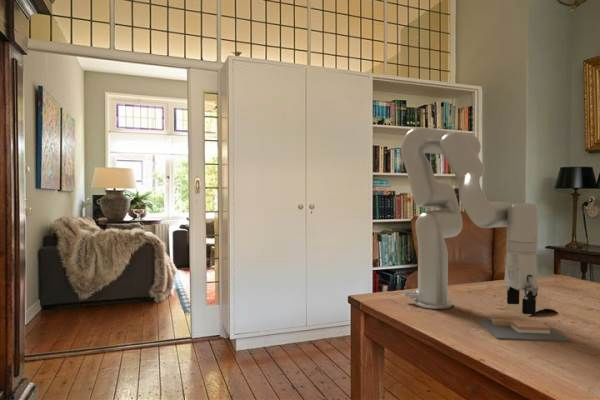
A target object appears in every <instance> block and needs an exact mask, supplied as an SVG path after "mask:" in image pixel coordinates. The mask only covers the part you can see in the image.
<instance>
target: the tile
mask: <svg viewBox="0 0 600 400" xmlns="http://www.w3.org/2000/svg"><path fill="white" fill-rule="evenodd" d="M547 325H548V324H547ZM547 325H545V324H544V323H542V322H534V321H511V327H512V328H513V329H515V330H516V331H517V332H518V333H546V334H550V327H551V326H549V325H548V326H549V327H548V326H547Z"/></svg>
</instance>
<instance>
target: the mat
mask: <svg viewBox="0 0 600 400" xmlns="http://www.w3.org/2000/svg"><path fill="white" fill-rule="evenodd" d="M475 320H476V321H477V322H478V323H479V324H480V325H481V326H482V327H484V328H485V330H487V332H489V333H490V334H491V335H492V336H493V337H494V338H495V339H496V340H510V341H511V340H514V341H517V340H518V341H540V342H541V341H542V342H543V341H544V342H545V341H546V342H568V343H569V342H570V343H572V340H571V339H570V338H568V337H567V336H565V335H563V334H562V333H560V332H558V331H557V330H555V329H554V328H552V327H551V326H549V325H548V324H547V321H544V320H541V319H540V320H537V319H535V320H534V319H533V320H532V319H510V318H509V319H506V318H505V319H504V318H503V319H502V318H475ZM511 321H534V322H542V323H544V324H545V325H547V326H548V327H550V334H546V333H518V332H517V331H516V330H515V329H513V328H512V327H511Z"/></svg>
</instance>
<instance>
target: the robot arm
mask: <svg viewBox="0 0 600 400" xmlns="http://www.w3.org/2000/svg"><path fill="white" fill-rule="evenodd" d="M481 147H482V146H481V142H480V140H479V139H478V137H477V136H476V135H474V134H473V133H466V132H460V131H459V132H458V131H449V130H444V129H443V130H442V129H436V128H429V127H419V126H418V127H415V128H412V129H410V130H408V131H407V133H406V134H405V135H404V137H403V139H402V141H401V146H400V153H401V158H402V162H403V163H404V168H405V170H406V174H407V178H408V182H409V186H410V187H409V188H410V191H411V194H412V198H413V202H414V204H415V205H416V206H417V207H420V208H424V209H425V208H428V209H429V208H431V209H432V208H433V210H426V211H423V212H422V213H420V214H419V216H417V219H416V220H415V232H416V239H417V248H418V249H417V250H418V251H417V263H418V265H417V266H418V268H417V288H415V290H412V291H409V290H406V291H405V290H404V291H403V297H404V298H408V299H413V301H412V303H413V304H414V305H416V306H418V307H421V308H425V309H433V310H443V309H450V308H452V307H453V301H452V300H450V299H448V296H449V294H448V286H449V285H448V284H449V283H448V279H449V277H448V276H449V275H448V274H449V252H448V247H447V244H446V241H445V240H446V238H447V239H449V238H454V237H457V236H458V235H459V234H461V232H462V230H463V226H464V222H463V216H462V212H461V209H460V206H459V201H460V204H461V205H462V207H463V209H464V211H465V213H466V215H467V216H468V218H469V219H470V221H471V222H472V223H473V224H474V225H476V226H477V227H479V228H483V229H491V228H505V227H506V258H505V266H504V267H505V269H504V283H505V284H506V291H507V293H506V295H507V296H506V303H507V305H508V304H519V300H520V291H521V292H522V296H523V298H522V299H521V300H522V313H523V314H532V315H536V313H537V311H536V304H537V300H538V298H537V297H538V294H539V293H538V292H539V287H540V286H539V284H538V268H537V257H536V256H537V255H538V240H539V239H538V238H539V236H538V235H539V234H538V233H539V231H538V230H539V207H538V206H537V205H536V203H535V204H534V203H528V202H520V203H519V202H517V203H516V202H514V203H512V202H507V201H505V202H504V201H489V200H488V198H487V196H486V195H485V193H484V191H483V190H482V187H481V182H480V180H481V177H483V176H484V174H485V172H486V167H485V164H483V162H482V161H481V159H480V157H479V154H480V151H481ZM425 154H433V155H442V156H443V157H444V158H445V161H446V162H447V164H448V165H449V167H450V169H451V171H452V172H453V174H454V176H455V177H456V179H457V181H458V187H457V188H458V196H459V201H458V198H457V194H456V192H455V189H454V188H453V186H452V185H451V184H450V183H448V182H447V181H444V180H438V179H436V177H435V174H434V170H433V166H432V165H431V162H430V160H429V159H428V157H426V155H425Z"/></svg>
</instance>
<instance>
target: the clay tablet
mask: <svg viewBox="0 0 600 400" xmlns="http://www.w3.org/2000/svg"><path fill="white" fill-rule="evenodd" d="M503 309H505V310H508V311H512V312H515V313H517V314H520V315H522V316H525V317H530V316H532V315H533V314H523V313H522V299H519V304H508V303H507V305H506V306H505V307H504V308H503ZM543 310H549V311H552V312H555V313H558V312H557V311H556V310H555V309H553V308H551V307H547V306H544V305H540V304H538V303H536V312H539V311H543ZM558 314H559V313H558Z"/></svg>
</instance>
